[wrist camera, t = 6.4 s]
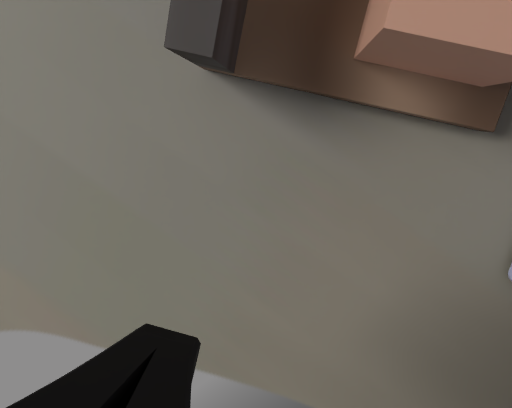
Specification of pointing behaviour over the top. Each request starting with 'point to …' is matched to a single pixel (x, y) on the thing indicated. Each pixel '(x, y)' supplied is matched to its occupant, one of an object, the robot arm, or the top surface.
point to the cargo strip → (319, 57)
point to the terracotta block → (441, 38)
